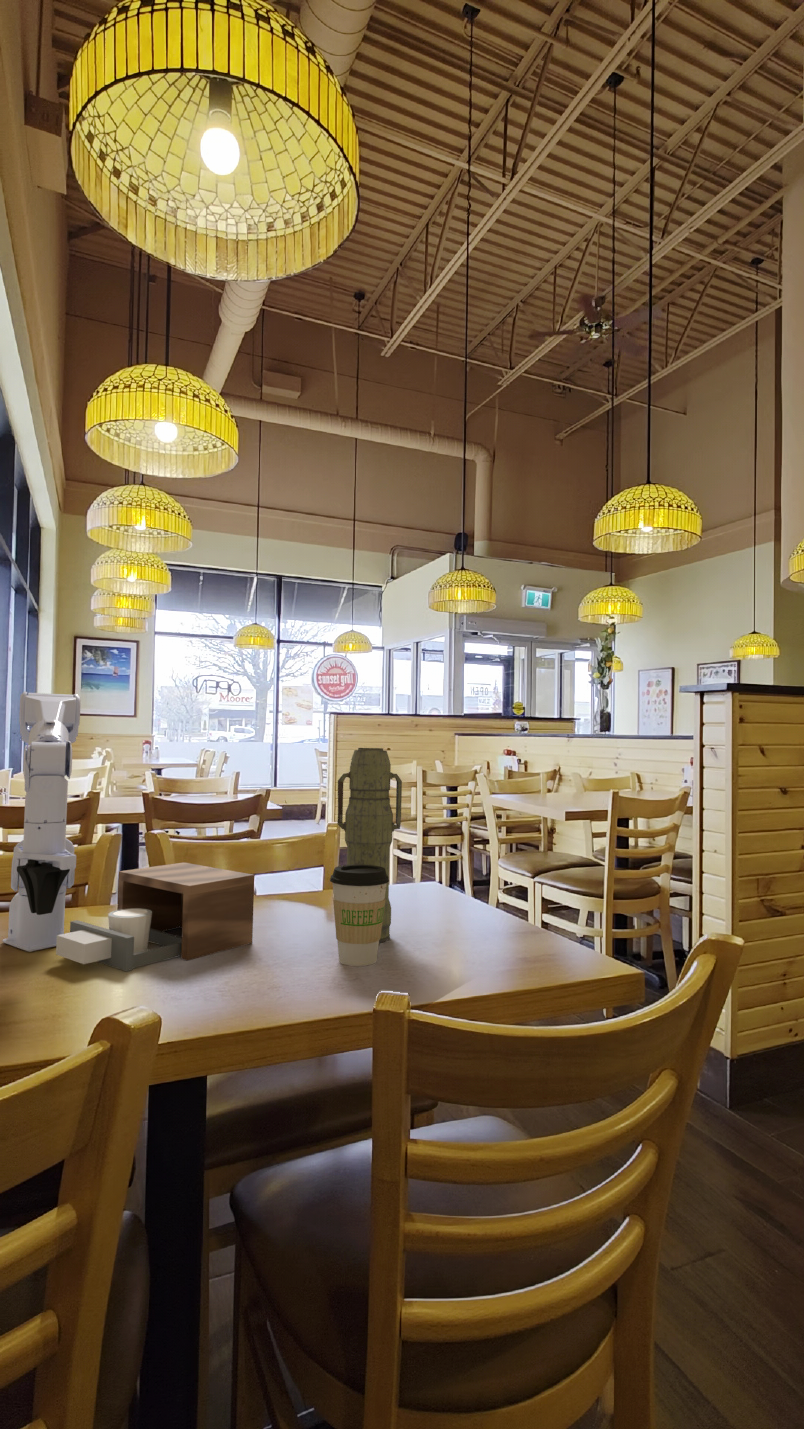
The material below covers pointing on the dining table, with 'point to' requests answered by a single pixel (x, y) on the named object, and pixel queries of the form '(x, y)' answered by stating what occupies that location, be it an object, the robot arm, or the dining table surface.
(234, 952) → the dining table surface
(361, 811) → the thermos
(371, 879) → the coffee cup
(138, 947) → the white cup
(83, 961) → the shelf tray
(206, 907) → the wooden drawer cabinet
